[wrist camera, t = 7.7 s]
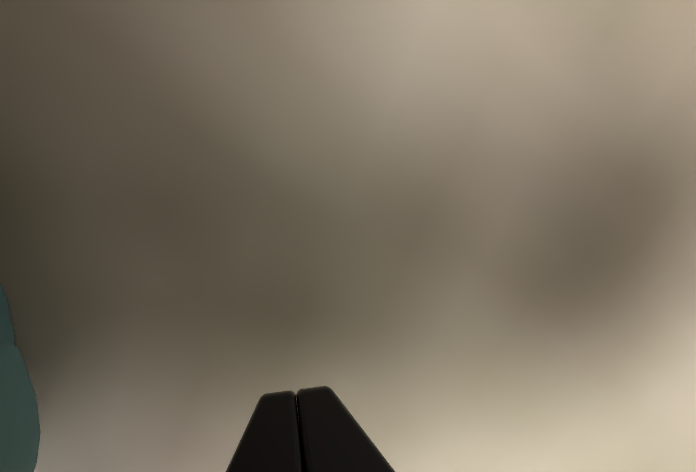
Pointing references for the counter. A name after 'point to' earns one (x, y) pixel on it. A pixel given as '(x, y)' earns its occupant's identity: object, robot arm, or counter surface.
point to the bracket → (16, 403)
